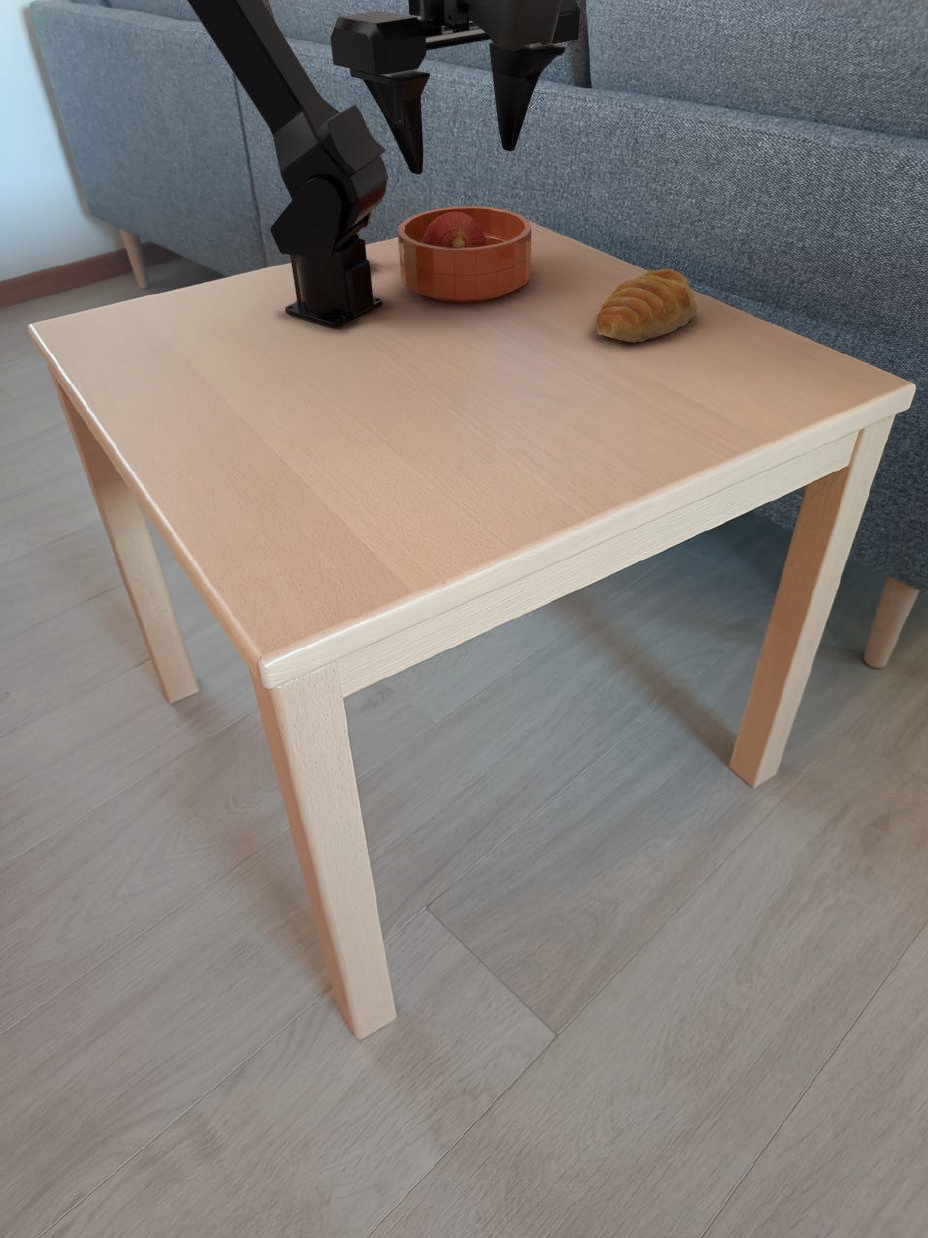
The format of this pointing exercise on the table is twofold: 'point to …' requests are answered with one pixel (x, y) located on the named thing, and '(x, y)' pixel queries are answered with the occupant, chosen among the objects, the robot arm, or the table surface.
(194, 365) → the table surface
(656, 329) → the pastry
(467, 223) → the onion
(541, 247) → the table surface
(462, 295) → the bowl
